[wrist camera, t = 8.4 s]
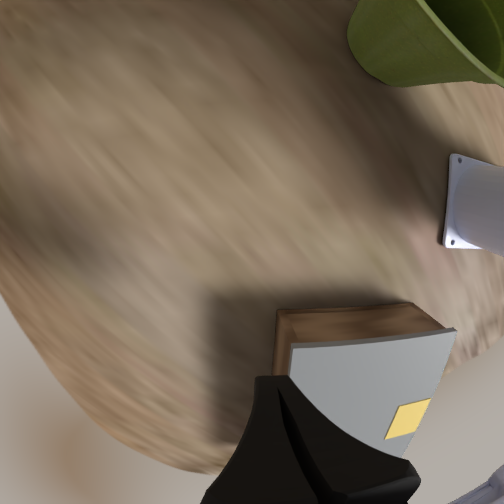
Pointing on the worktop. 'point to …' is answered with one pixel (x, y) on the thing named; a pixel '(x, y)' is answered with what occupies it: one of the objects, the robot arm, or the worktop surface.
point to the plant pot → (429, 41)
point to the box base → (344, 326)
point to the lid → (373, 383)
